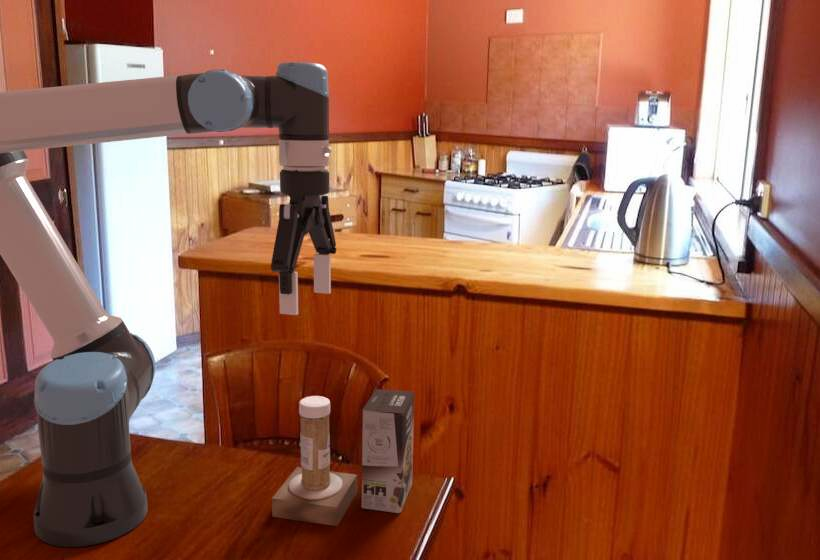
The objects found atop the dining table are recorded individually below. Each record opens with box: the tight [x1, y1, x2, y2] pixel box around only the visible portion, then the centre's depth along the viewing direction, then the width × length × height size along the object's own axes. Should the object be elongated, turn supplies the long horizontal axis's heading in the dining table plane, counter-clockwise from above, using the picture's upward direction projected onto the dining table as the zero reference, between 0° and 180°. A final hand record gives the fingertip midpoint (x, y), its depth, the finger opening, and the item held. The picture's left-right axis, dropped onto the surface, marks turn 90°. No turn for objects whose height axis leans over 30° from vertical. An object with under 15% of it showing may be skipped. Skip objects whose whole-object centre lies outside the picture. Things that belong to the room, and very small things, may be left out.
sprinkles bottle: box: [298, 395, 331, 490], centre depth 110 cm, size 5×5×14 cm
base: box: [271, 466, 358, 527], centre depth 112 cm, size 10×10×3 cm
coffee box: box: [361, 388, 415, 514], centre depth 113 cm, size 9×6×16 cm
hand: (306, 302), depth 117 cm, fingers open, 13 cm apart
